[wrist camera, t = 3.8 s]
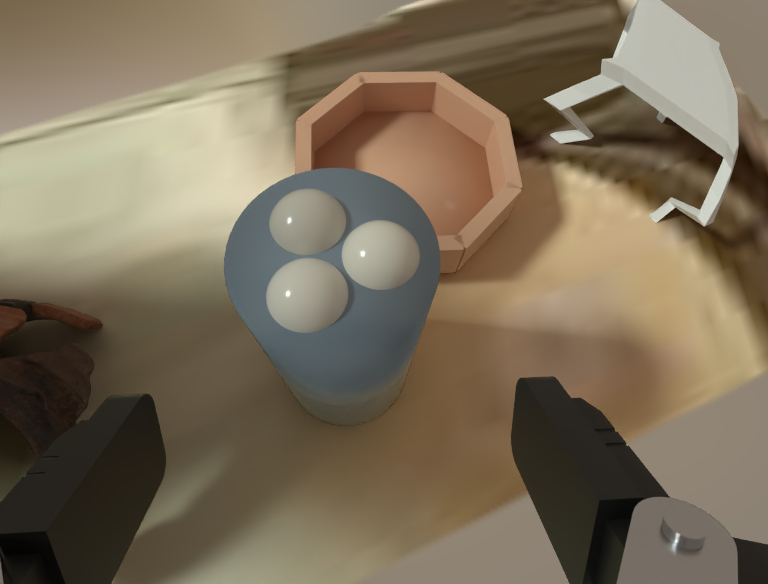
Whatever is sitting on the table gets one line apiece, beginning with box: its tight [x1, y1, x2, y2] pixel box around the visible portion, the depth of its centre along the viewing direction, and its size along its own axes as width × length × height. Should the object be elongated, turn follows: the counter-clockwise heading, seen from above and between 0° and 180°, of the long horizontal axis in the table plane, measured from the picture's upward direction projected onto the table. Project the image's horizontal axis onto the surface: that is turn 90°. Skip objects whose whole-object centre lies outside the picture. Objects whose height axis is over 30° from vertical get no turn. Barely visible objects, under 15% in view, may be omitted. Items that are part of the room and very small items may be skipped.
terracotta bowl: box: [295, 72, 523, 273], centre depth 23 cm, size 10×10×2 cm
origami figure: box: [544, 0, 739, 227], centre depth 23 cm, size 12×8×5 cm
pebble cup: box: [224, 168, 441, 426], centre depth 15 cm, size 5×5×11 cm
